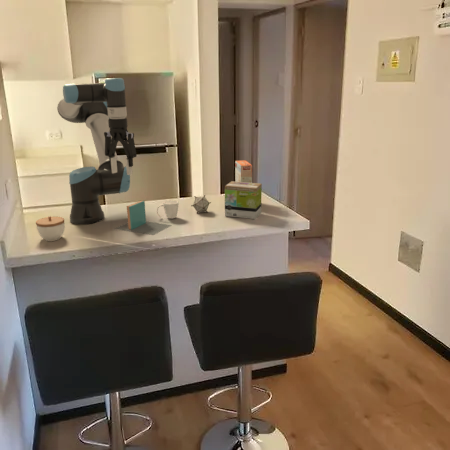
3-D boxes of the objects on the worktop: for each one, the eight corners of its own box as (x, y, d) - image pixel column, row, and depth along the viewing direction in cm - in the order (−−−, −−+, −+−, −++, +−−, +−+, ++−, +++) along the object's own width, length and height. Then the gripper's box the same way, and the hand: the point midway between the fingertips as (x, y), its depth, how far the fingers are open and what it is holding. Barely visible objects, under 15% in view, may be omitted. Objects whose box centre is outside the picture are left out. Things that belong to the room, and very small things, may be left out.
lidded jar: (32, 240, 190) (29, 217, 187) (55, 232, 199) (52, 211, 196) (49, 245, 184) (46, 222, 181) (71, 237, 193) (69, 215, 190)
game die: (204, 220, 224) (208, 207, 216) (187, 214, 224) (190, 200, 216) (210, 207, 229) (214, 194, 221) (194, 201, 230) (197, 187, 222)
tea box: (224, 217, 217) (223, 185, 212) (231, 211, 226) (230, 180, 221) (256, 219, 212) (256, 187, 207) (261, 213, 221) (262, 182, 216)
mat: (114, 229, 201) (114, 228, 201) (134, 220, 213) (134, 219, 212) (153, 236, 192) (153, 235, 192) (171, 226, 204) (171, 225, 204)
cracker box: (252, 207, 231) (252, 164, 225) (240, 207, 230) (240, 165, 224) (246, 199, 245) (246, 159, 238) (235, 200, 244) (234, 160, 237)
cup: (180, 221, 211) (179, 203, 209) (157, 222, 210) (156, 205, 207) (178, 216, 218) (177, 199, 216) (156, 218, 216) (155, 201, 214)
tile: (128, 229, 200) (126, 206, 197) (142, 222, 208) (141, 200, 205) (132, 229, 199) (130, 206, 196) (146, 223, 207) (144, 201, 204)
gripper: (92, 118, 193) (97, 173, 200) (132, 119, 185) (136, 177, 192) (104, 116, 199) (109, 170, 207) (143, 117, 191) (147, 173, 198)
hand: (122, 173), depth 199 cm, fingers open, 7 cm apart
